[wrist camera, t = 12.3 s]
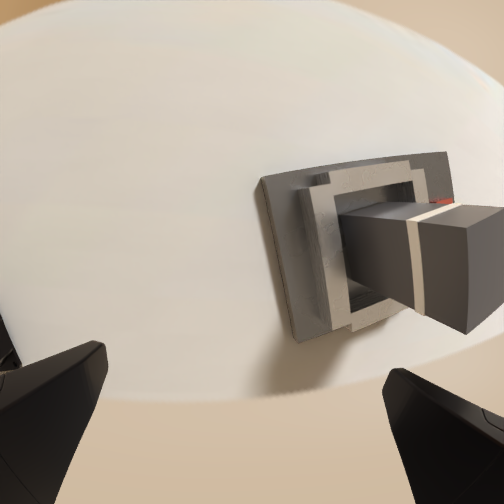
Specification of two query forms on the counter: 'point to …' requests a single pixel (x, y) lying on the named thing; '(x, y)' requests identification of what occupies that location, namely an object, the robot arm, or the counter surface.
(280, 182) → the grey socket base
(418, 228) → the plug block
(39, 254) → the counter surface
